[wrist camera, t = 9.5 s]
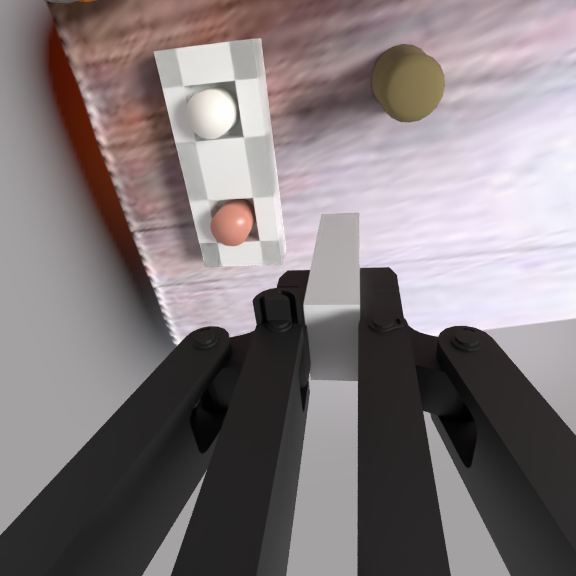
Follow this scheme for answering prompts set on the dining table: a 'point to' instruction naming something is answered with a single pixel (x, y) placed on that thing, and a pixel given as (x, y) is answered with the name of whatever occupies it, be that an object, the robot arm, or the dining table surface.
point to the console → (227, 147)
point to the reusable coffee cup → (67, 1)
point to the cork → (407, 83)
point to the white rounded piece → (212, 112)
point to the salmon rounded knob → (233, 222)
